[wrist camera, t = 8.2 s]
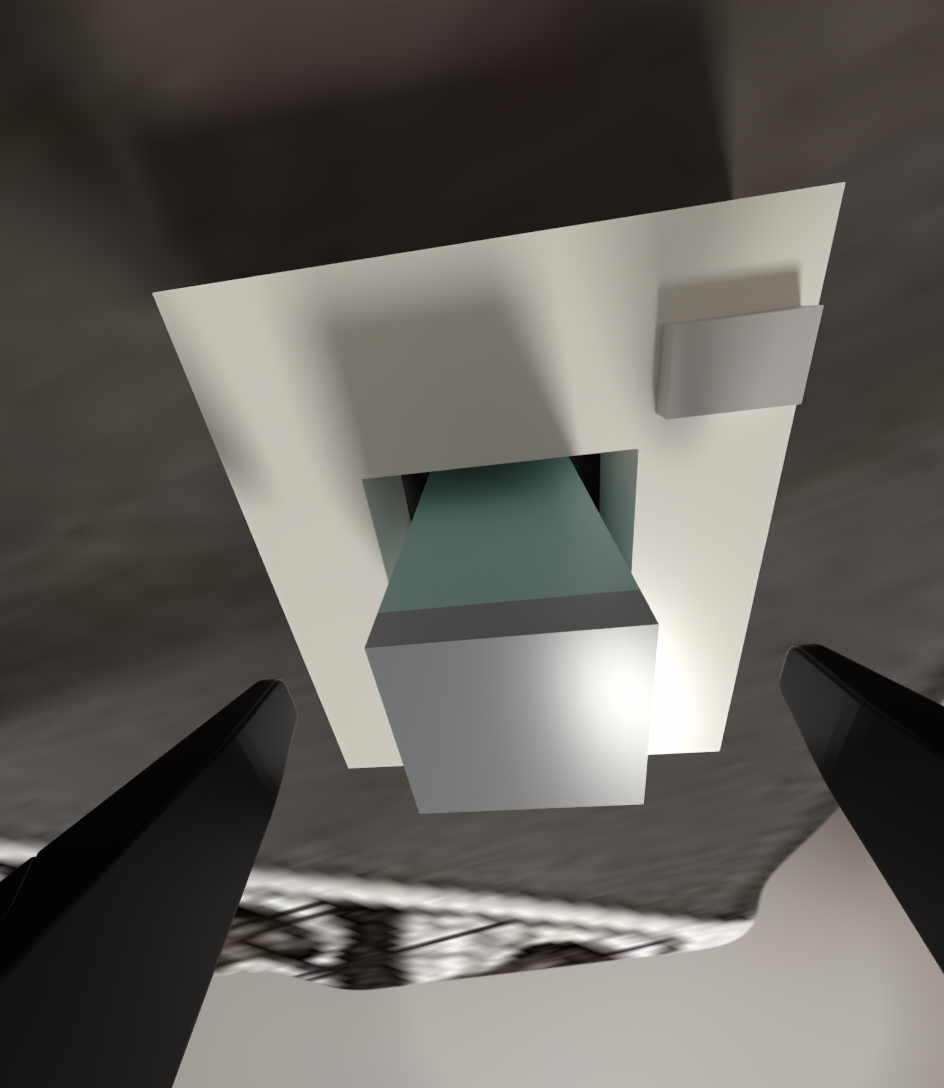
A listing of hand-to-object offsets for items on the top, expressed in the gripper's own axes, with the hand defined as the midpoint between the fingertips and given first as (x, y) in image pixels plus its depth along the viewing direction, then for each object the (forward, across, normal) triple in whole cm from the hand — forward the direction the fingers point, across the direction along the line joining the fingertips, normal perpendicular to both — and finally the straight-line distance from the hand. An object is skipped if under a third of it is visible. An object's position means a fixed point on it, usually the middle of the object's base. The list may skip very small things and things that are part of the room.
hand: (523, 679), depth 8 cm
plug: (+7, 0, 0) cm, 7 cm away
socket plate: (+7, 0, 0) cm, 7 cm away
